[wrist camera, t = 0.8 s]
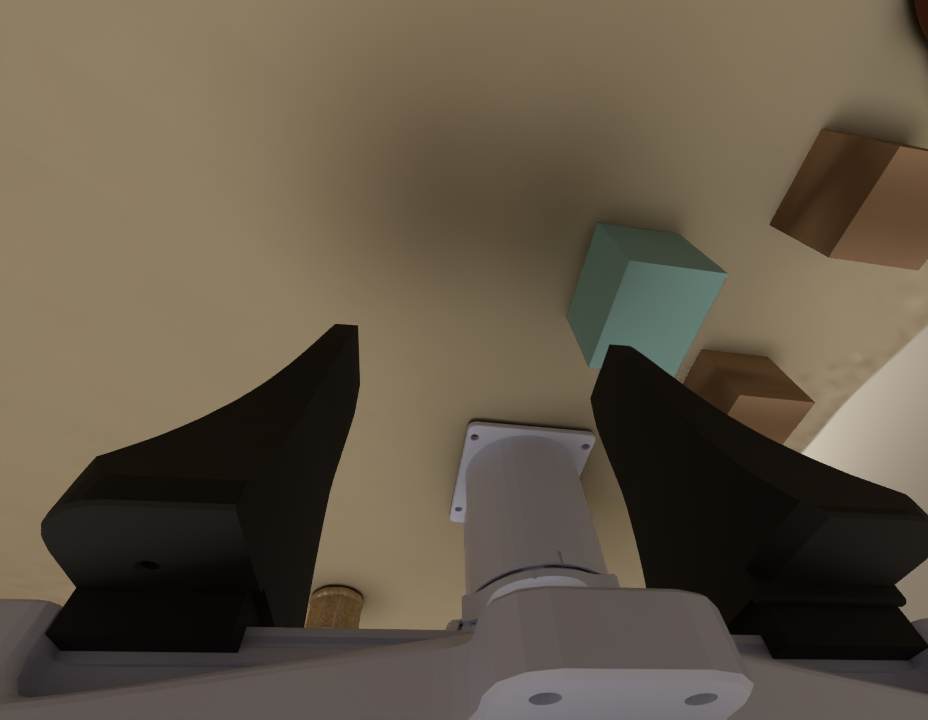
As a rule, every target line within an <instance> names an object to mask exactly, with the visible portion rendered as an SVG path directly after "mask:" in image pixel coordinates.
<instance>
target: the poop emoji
mask: <svg viewBox="0 0 928 720" xmlns="http://www.w3.org/2000/svg"><path fill="white" fill-rule="evenodd" d="M914 2H915V8H916V13H917V17H918V21H919V23H920V26H921V29H922V31H923V33H924V35H925V37H926V38H927V40H928V0H914Z"/></svg>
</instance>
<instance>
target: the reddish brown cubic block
mask: <svg viewBox="0 0 928 720" xmlns="http://www.w3.org/2000/svg"><path fill="white" fill-rule="evenodd" d="M683 385H684V386H686V387H687V388H689V389H690V390H691V391H693V392H694V393H696V394H697V395H698V396H700V397H701V398H703V399H704V400H706V401H707V402H709V403H710V404H712V405H713V406H715V407H716V408H718V409H719V410H721V411H722V412H724V413H725V414H727V415H729V416H730V417H732V418H734V419H735V420H737V421H739V422H741V423H742V424H744V425H746V426H747V427H749V428H751V429H753V430H754V431H756V432H758V433H760V434H762V435H764V436H766V437H768V438H770V439H772V440H774V441H776V442H778V443H780V444H783V443H784V442H785V441H786V439H787V438H788V437H789V435H790V434H791V433H792V432H793V430H794V429H795V428H796V426H797V425H798V424H799V423H800V421H801V420H802V419H803V417H804V416H805V415H806V414H807V412H808V411H809V410H810V409H811V407H812V406H813V405H814V403H815V402H814V401H813V400H812V399H811V398H810V397H809V396H808V395H807V394H806V393H805V392H803V391H802V390H801V389H800V388H799V387H798V386H797V385H796V384H795V383H794V382H793V381H792V380H791V379H790V378H789V377H788V376H787V375H786V374H785V373H784V372H783V371H782V370H781V369H780V368H779V367H778V366H777V365H776V364H774V363H773V362H772V361H771V360H770V359H769V358H768V357H762V356H753V355H744V354H735V353H727V352H718V351H709V350H701V352H700V353H699V355H698V357H697V359H696V361H695V363H694V364H693V366H692V368H691V370H690V372H689V374H688V376H687V377H686V379H685V381H684V383H683Z"/></svg>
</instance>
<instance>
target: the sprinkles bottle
mask: <svg viewBox="0 0 928 720" xmlns="http://www.w3.org/2000/svg"><path fill="white" fill-rule="evenodd" d="M362 608H363V599H362V597H361V596H360V595H359V594H358V593H356V592H355V591H353V590H351V589H348V588H344V587H326V588H323V589H320V590H318V591H317V592H315V593H314V594H313V596H312V597H311V600H310V610H309V614H308V618H307V622H306V626H305V628H346V629H358V628H359V621H360V615H361V611H362Z"/></svg>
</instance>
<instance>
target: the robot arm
mask: <svg viewBox="0 0 928 720" xmlns="http://www.w3.org/2000/svg"><path fill="white" fill-rule="evenodd" d="M359 387H360V370H359V342H358V326H357V325H343V324H335V325H334V326H332V327H331V328H330V329H329V330H328V331H327V332H326V333H325V334H323V335H322V336H321V337H320V338H319V339H318V340H317V341H316V342H315V343H314V344H313V345H311V346H310V347H309V348H308V349H307V350H306V351H305V352H303V353H302V354H301V355H300V356H299V357H298V358H296V359H295V360H294V361H293V362H292V363H290V364H289V365H288V366H287V367H285V368H284V369H283V370H281V371H280V372H279V373H277V374H276V375H275V376H273V377H272V378H271V379H269V380H268V381H266V382H265V383H263V384H262V385H260V386H259V387H257V388H256V389H254V390H252V391H251V392H249V393H247V394H246V395H244V396H242V397H241V398H239V399H237V400H235V401H233V402H232V403H230V404H228V405H226V406H224V407H222V408H220V409H218V410H216V411H214V412H212V413H210V414H208V415H206V416H204V417H202V418H200V419H198V420H195V421H193V422H191V423H189V424H186V425H184V426H182V427H179V428H177V429H174V430H172V431H169V432H167V433H164V434H162V435H159V436H157V437H154V438H151V439H148V440H146V441H143V442H140V443H137V444H134V445H131V446H128V447H125V448H122V449H119V450H116V451H113V452H110V453H107V454H103V455H100V456H97V457H96V458H95V459H94V460H93V461H92V462H91V463H90V464H89V465H88V466H87V468H86V469H85V470H84V471H83V472H82V473H81V474H80V476H79V477H78V478H77V479H76V480H75V481H74V483H73V484H72V485H71V486H70V487H69V489H68V490H67V491H66V492H65V493H64V494H63V496H62V497H61V498H60V499H59V500H58V502H57V503H56V504H55V505H54V506H53V508H52V509H51V510H50V511H49V512H48V514H47V515H46V517H45V518H44V520H43V521H42V523H41V536H42V539H43V541H44V543H45V545H46V547H47V549H48V551H49V552H50V553H51V555H52V556H53V557H54V559H55V560H56V561H57V563H58V564H59V565H60V567H61V568H62V569H63V571H64V572H65V573H66V574H67V576H68V577H69V578H70V580H71V581H72V582H73V584H74V585H75V586H76V589H75V591H74V592H73V593H72V595H71V596H70V598H69V599H68V601H67V602H66V604H65V605H64V607H62V606H60V605H59V604H56V603H53V602H50V601H44V600H30V599H0V720H928V618H926V619H920V620H917V621H913V622H911V623H910V621H909V620H908V619H907V618H906V616H905V615H904V614H903V613H902V612H901V610H900V609H899V608H898V607H902V606H904V605H905V604H906V598H905V597H904V596H903V595H902V594H901V592H900V591H899V590H898V589H897V587H896V586H895V584H896V583H897V582H899V581H900V580H901V579H902V578H904V577H905V576H906V575H907V574H908V573H910V572H911V571H912V570H914V569H915V568H916V567H917V566H919V565H920V564H921V563H922V562H924V561H925V560H926V559H927V558H928V515H927V514H926V513H925V512H924V511H923V510H922V509H921V508H920V507H919V506H918V505H917V504H916V503H915V502H914V501H913V500H912V499H911V498H910V497H908V496H907V495H906V494H903V493H900V492H898V491H895V490H892V489H889V488H886V487H884V486H881V485H878V484H875V483H872V482H870V481H867V480H864V479H861V478H858V477H855V476H853V475H850V474H848V473H845V472H843V471H840V470H838V469H835V468H833V467H831V466H828V465H825V464H823V463H821V462H818V461H816V460H814V459H811V458H809V457H807V456H805V455H803V454H800V453H798V452H796V451H794V450H792V449H790V448H788V447H786V446H784V445H782V444H780V443H778V442H776V441H774V440H772V439H770V438H768V437H766V436H764V435H762V434H760V433H758V432H756V431H754V430H753V429H751V428H749V427H747V426H746V425H744V424H742V423H741V422H739V421H737V420H735V419H734V418H732V417H730V416H729V415H727V414H725V413H724V412H722V411H721V410H719V409H718V408H716V407H715V406H713V405H712V404H710V403H709V402H707V401H706V400H704V399H703V398H701V397H700V396H698V395H697V394H696V393H694V392H693V391H691V390H690V389H689V388H687V387H686V386H684V385H683V384H682V383H680V382H679V381H678V380H676V379H675V378H674V377H672V376H671V375H670V374H668V373H667V372H666V371H664V370H663V369H662V368H660V367H659V366H658V365H657V364H655V363H654V362H653V361H651V360H650V359H649V358H647V357H646V356H644V355H643V354H642V353H640V352H639V351H637V350H636V349H634V348H633V347H631V346H626V345H612V344H609V347H608V350H607V353H606V356H605V358H604V361H603V364H602V367H601V370H600V373H599V375H598V378H597V381H596V384H595V387H594V390H593V393H592V395H591V398H590V399H591V404H592V408H593V413H594V418H595V422H596V426H597V429H598V432H599V435H600V437H601V440H602V443H603V445H604V448H605V450H606V453H607V455H608V458H609V461H610V463H611V466H612V468H613V471H614V473H615V476H616V478H617V481H618V483H619V486H620V488H621V491H622V494H623V497H624V500H625V503H626V506H627V509H628V513H629V517H630V520H631V524H632V528H633V532H634V535H635V539H636V544H637V548H638V552H639V556H640V560H641V565H642V569H643V574H644V579H645V584H646V588H620V586H619V583H618V579H617V576H616V575H615V574H609V573H608V570H607V567H606V563H605V560H604V557H603V553H602V550H601V547H600V544H599V540H598V537H597V534H596V531H595V527H594V524H593V521H592V517H591V514H590V511H589V508H588V504H587V501H586V498H585V495H584V491H583V488H582V485H581V481H580V478H579V477H580V475H581V473H582V470H583V468H584V466H585V464H586V461H587V459H588V457H589V455H590V452H591V450H592V448H593V446H594V443H595V440H596V439H595V436H594V434H593V433H592V432H589V431H578V430H567V429H555V428H544V427H533V426H522V425H511V424H499V423H488V422H472V423H470V424H469V425H468V427H467V432H466V437H465V442H464V447H463V451H462V456H461V461H460V466H459V471H458V475H457V480H456V485H455V490H454V495H453V499H452V504H451V509H450V520H451V521H453V522H464V550H465V580H466V595H464V596H462V619H458V620H452V621H450V622H449V623H448V625H447V627H446V629H445V630H407V629H346V628H304V625H305V619H306V613H307V607H308V601H309V596H310V590H311V585H312V579H313V574H314V568H315V563H316V557H317V552H318V547H319V542H320V537H321V532H322V527H323V522H324V517H325V512H326V508H327V503H328V498H329V493H330V490H331V486H332V482H333V479H334V476H335V473H336V470H337V466H338V463H339V460H340V457H341V454H342V451H343V448H344V445H345V442H346V439H347V436H348V433H349V430H350V427H351V423H352V420H353V417H354V414H355V409H356V403H357V398H358V392H359ZM474 434H476V435H477V436H472V435H474ZM584 444H586V445H584Z"/></svg>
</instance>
